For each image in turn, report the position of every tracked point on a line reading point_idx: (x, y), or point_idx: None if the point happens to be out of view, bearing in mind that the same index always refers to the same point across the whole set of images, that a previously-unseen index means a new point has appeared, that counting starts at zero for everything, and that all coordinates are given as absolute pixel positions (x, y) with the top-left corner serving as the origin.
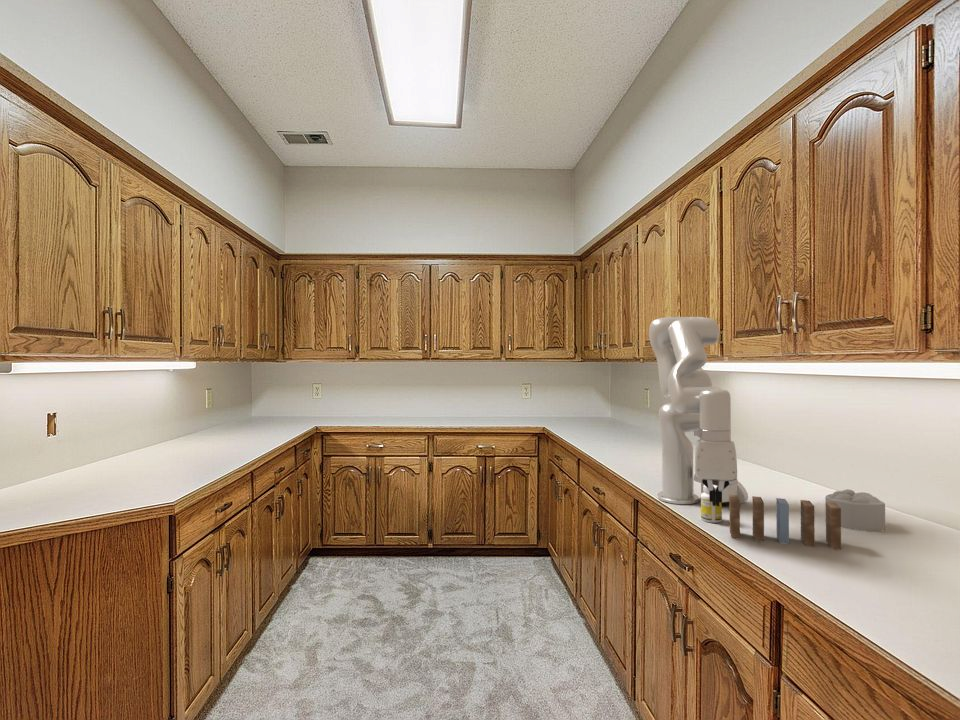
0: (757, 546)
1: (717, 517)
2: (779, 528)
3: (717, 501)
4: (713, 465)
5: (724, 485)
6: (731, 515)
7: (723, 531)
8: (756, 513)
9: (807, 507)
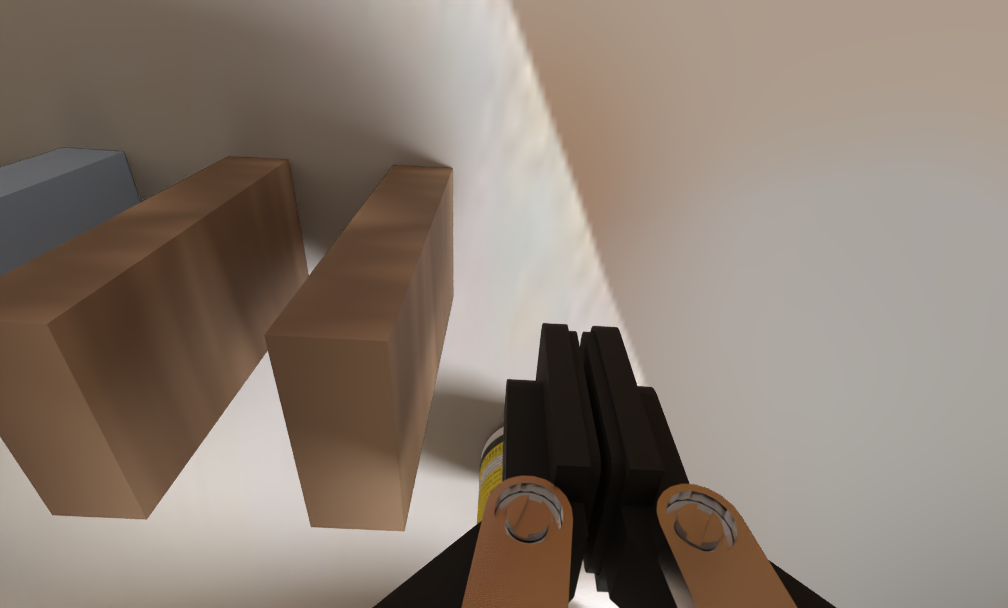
0: (263, 12)
1: None
2: (39, 195)
3: (569, 356)
4: None
5: (454, 599)
6: (423, 240)
7: (492, 291)
8: (146, 246)
9: None
